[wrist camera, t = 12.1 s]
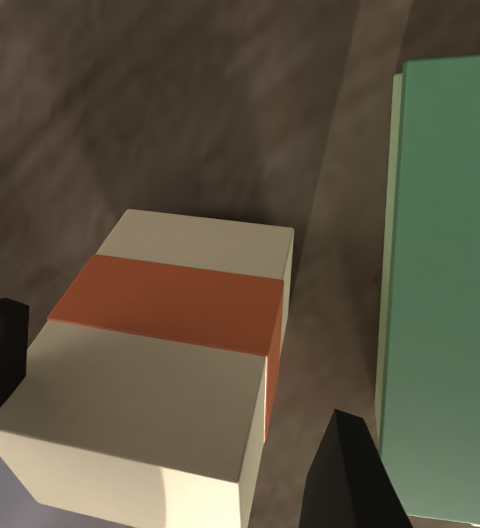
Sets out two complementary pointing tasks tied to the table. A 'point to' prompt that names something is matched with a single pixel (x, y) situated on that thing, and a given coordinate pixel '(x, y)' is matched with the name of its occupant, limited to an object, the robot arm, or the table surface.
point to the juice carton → (156, 375)
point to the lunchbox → (432, 292)
